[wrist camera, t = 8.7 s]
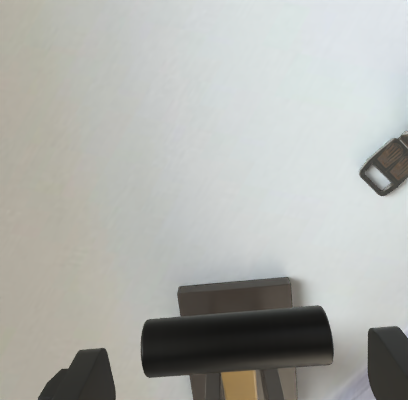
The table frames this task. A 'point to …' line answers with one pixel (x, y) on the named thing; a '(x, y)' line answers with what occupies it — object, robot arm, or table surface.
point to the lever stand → (240, 302)
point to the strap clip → (389, 164)
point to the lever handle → (237, 345)
